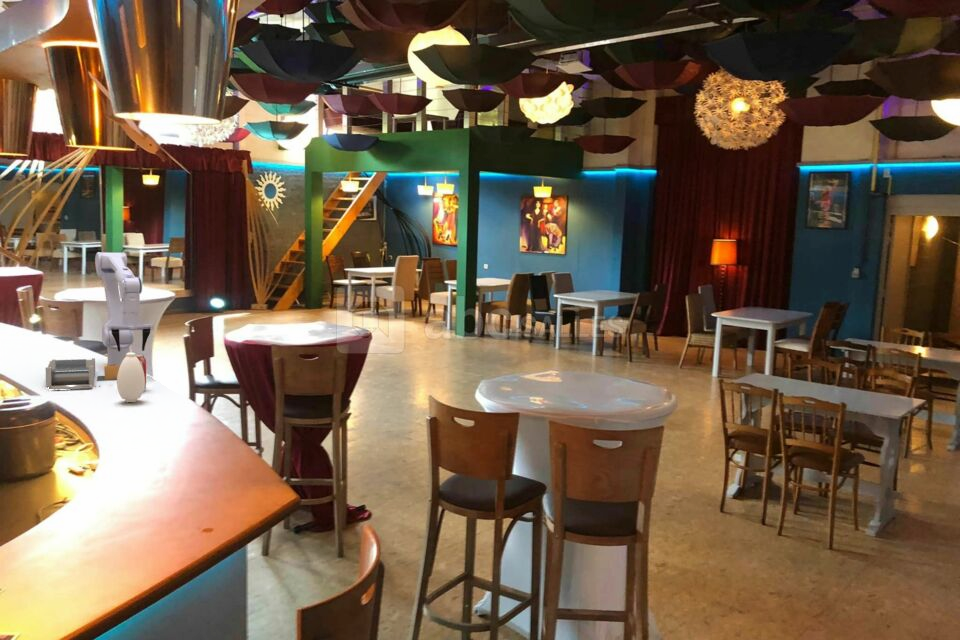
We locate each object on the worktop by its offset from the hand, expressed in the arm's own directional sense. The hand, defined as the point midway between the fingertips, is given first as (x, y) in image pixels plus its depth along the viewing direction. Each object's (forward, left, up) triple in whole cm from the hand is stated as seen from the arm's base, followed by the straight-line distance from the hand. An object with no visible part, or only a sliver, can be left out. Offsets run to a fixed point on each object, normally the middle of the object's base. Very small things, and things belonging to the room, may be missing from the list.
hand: (131, 350), depth 272 cm
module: (+2, -6, -9) cm, 11 cm away
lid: (+8, -17, -4) cm, 19 cm away
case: (+4, -18, -10) cm, 21 cm away
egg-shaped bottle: (+36, +9, -10) cm, 38 cm away
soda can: (+20, +6, -10) cm, 23 cm away
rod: (+19, -14, -10) cm, 26 cm away
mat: (+2, -6, -10) cm, 12 cm away
